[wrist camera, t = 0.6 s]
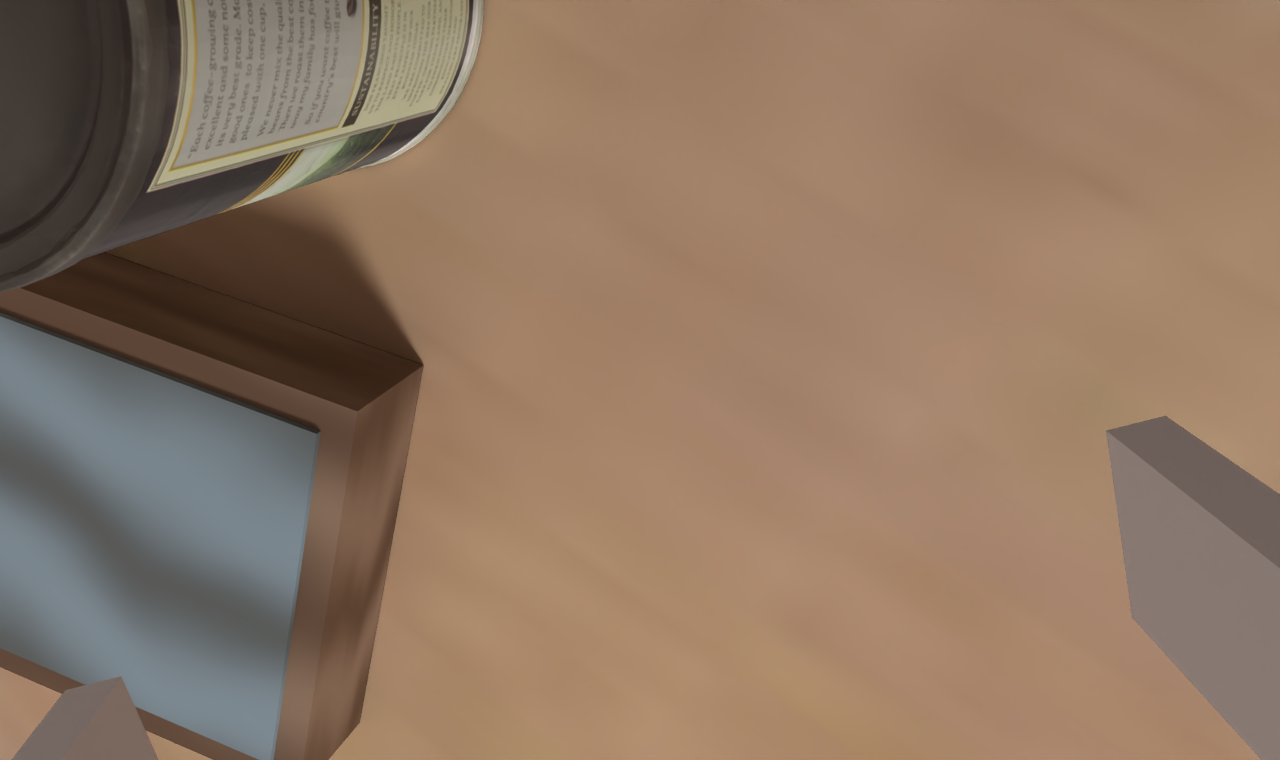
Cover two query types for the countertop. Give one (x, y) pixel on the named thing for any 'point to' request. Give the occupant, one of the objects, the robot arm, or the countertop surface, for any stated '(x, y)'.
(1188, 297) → the countertop surface
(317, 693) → the walnut tray
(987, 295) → the countertop surface
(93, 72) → the coffee can
